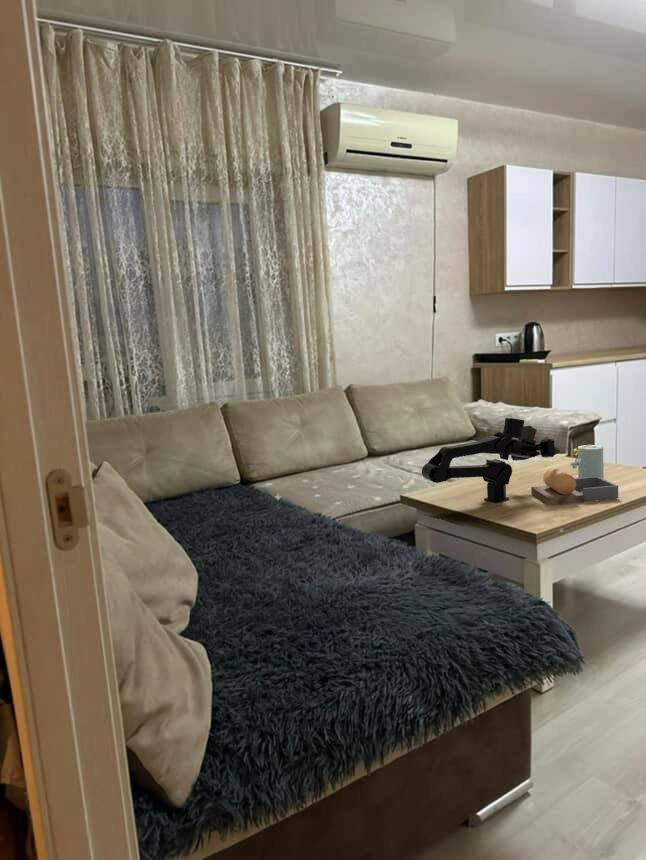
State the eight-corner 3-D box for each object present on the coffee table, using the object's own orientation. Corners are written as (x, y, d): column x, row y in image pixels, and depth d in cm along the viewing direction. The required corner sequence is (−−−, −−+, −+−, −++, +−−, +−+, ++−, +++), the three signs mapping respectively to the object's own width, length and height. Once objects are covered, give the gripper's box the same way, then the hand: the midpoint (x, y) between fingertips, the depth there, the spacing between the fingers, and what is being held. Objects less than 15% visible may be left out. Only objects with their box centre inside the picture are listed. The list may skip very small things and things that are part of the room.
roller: (576, 493, 208) (575, 473, 207) (556, 495, 208) (555, 475, 207) (562, 486, 219) (562, 467, 218) (543, 487, 219) (542, 468, 218)
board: (548, 505, 206) (548, 498, 205) (531, 493, 222) (531, 487, 221) (584, 502, 206) (584, 495, 206) (564, 491, 222) (563, 484, 221)
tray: (584, 501, 207) (583, 488, 206) (565, 491, 221) (565, 479, 220) (618, 498, 207) (618, 485, 206) (597, 488, 221) (597, 476, 221)
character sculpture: (582, 473, 245) (581, 440, 243) (612, 476, 237) (611, 442, 235) (561, 484, 231) (561, 449, 229) (593, 488, 223) (592, 452, 221)
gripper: (536, 422, 211) (569, 427, 218) (498, 428, 227) (530, 433, 234) (537, 454, 209) (569, 458, 216) (498, 458, 225) (530, 462, 232)
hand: (549, 452), depth 224 cm, fingers open, 9 cm apart
